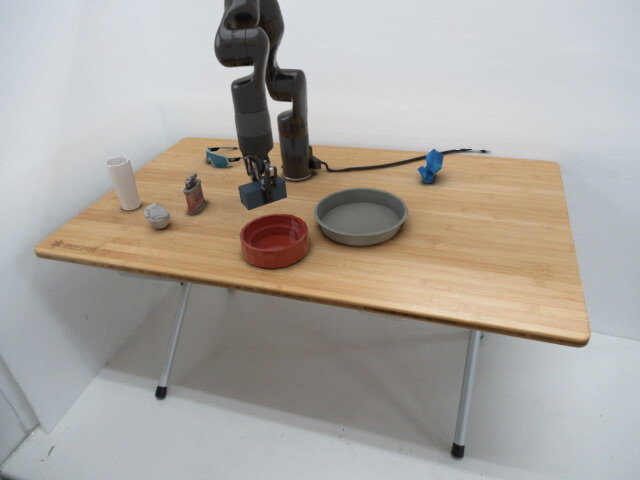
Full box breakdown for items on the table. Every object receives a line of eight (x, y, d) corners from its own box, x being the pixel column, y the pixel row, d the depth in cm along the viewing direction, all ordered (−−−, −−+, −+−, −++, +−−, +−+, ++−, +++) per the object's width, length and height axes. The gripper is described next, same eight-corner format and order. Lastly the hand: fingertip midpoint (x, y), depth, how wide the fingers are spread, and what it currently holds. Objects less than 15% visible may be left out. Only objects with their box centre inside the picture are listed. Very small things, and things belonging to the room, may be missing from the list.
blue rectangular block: (278, 190, 113) (276, 174, 111) (287, 197, 110) (285, 180, 107) (240, 203, 109) (237, 186, 106) (248, 210, 106) (245, 193, 103)
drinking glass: (148, 203, 141) (134, 157, 133) (132, 214, 136) (116, 167, 128) (131, 199, 144) (116, 154, 135) (115, 210, 139) (98, 164, 130)
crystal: (417, 167, 135) (419, 142, 143) (416, 189, 141) (418, 164, 149) (443, 168, 134) (444, 143, 141) (441, 190, 140) (442, 165, 148)
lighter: (197, 215, 133) (189, 184, 128) (186, 214, 134) (178, 183, 128) (208, 201, 140) (201, 171, 134) (197, 200, 140) (190, 170, 135)
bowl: (289, 224, 126) (287, 207, 123) (321, 253, 114) (320, 234, 111) (232, 245, 119) (229, 227, 116) (261, 278, 108) (257, 259, 104)
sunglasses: (198, 159, 165) (197, 146, 163) (234, 152, 174) (233, 138, 172) (220, 171, 156) (219, 156, 154) (256, 162, 165) (256, 148, 163)
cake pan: (420, 242, 116) (421, 226, 113) (323, 256, 113) (322, 241, 111) (391, 195, 136) (392, 181, 133) (308, 207, 133) (307, 193, 131)
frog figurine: (158, 219, 133) (151, 198, 129) (178, 223, 130) (172, 201, 126) (143, 230, 128) (136, 208, 124) (164, 234, 126) (157, 212, 122)
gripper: (285, 134, 96) (292, 205, 106) (255, 116, 106) (265, 182, 116) (251, 143, 93) (262, 216, 103) (225, 123, 103) (237, 191, 113)
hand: (263, 198), depth 109 cm, fingers closed on blue rectangular block, 4 cm apart
